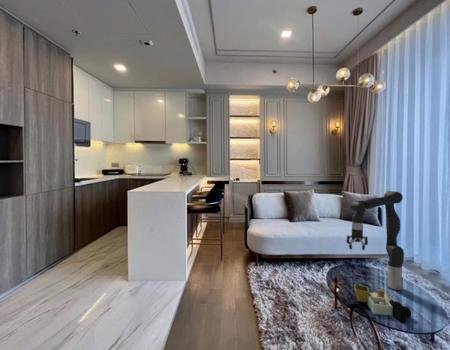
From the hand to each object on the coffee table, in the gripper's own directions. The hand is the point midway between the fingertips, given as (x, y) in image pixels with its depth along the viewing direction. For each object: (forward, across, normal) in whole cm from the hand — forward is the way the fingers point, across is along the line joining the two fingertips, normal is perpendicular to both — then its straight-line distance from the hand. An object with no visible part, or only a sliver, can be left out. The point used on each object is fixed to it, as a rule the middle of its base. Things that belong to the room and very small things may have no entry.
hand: (356, 249), depth 190 cm
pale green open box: (+33, -8, +23) cm, 41 cm away
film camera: (+33, -18, +28) cm, 47 cm away
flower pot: (+33, 0, +12) cm, 35 cm away
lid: (+31, -14, +9) cm, 35 cm away
